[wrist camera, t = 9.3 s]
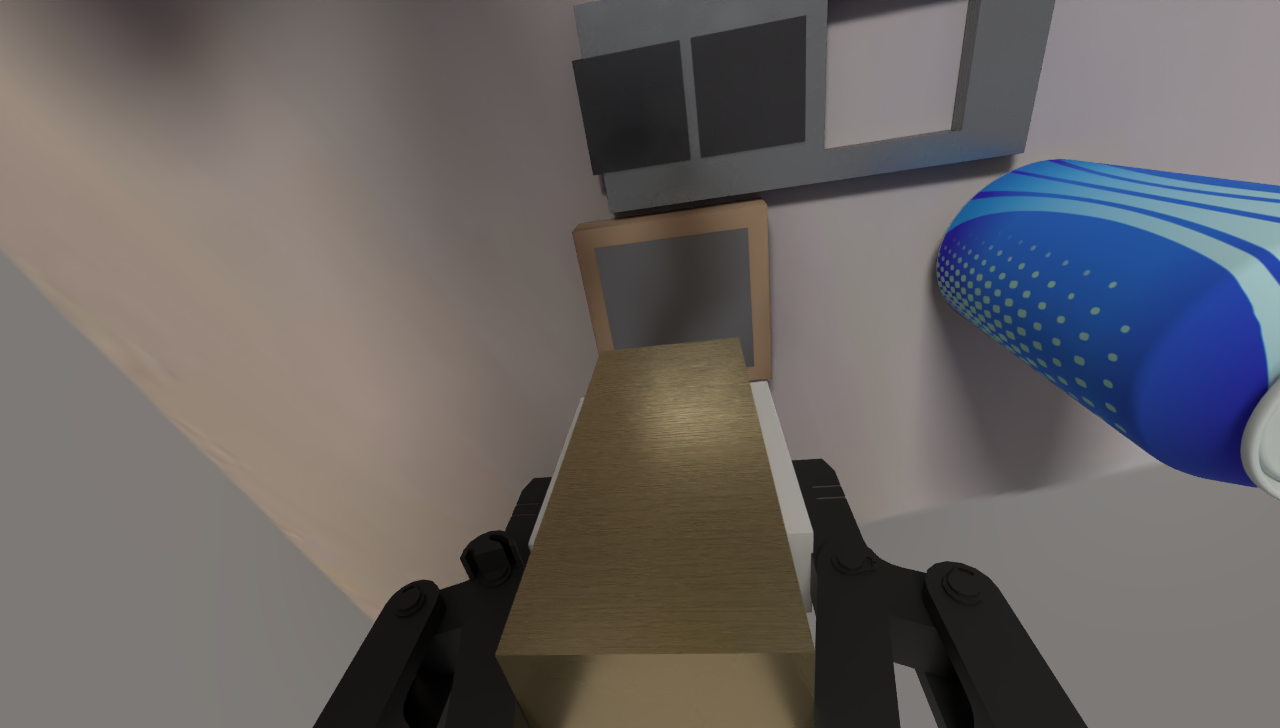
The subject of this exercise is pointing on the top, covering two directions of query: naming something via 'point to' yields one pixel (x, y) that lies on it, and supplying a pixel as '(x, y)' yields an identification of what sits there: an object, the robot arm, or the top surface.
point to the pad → (681, 279)
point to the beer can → (1136, 303)
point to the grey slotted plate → (772, 96)
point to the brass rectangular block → (663, 560)
